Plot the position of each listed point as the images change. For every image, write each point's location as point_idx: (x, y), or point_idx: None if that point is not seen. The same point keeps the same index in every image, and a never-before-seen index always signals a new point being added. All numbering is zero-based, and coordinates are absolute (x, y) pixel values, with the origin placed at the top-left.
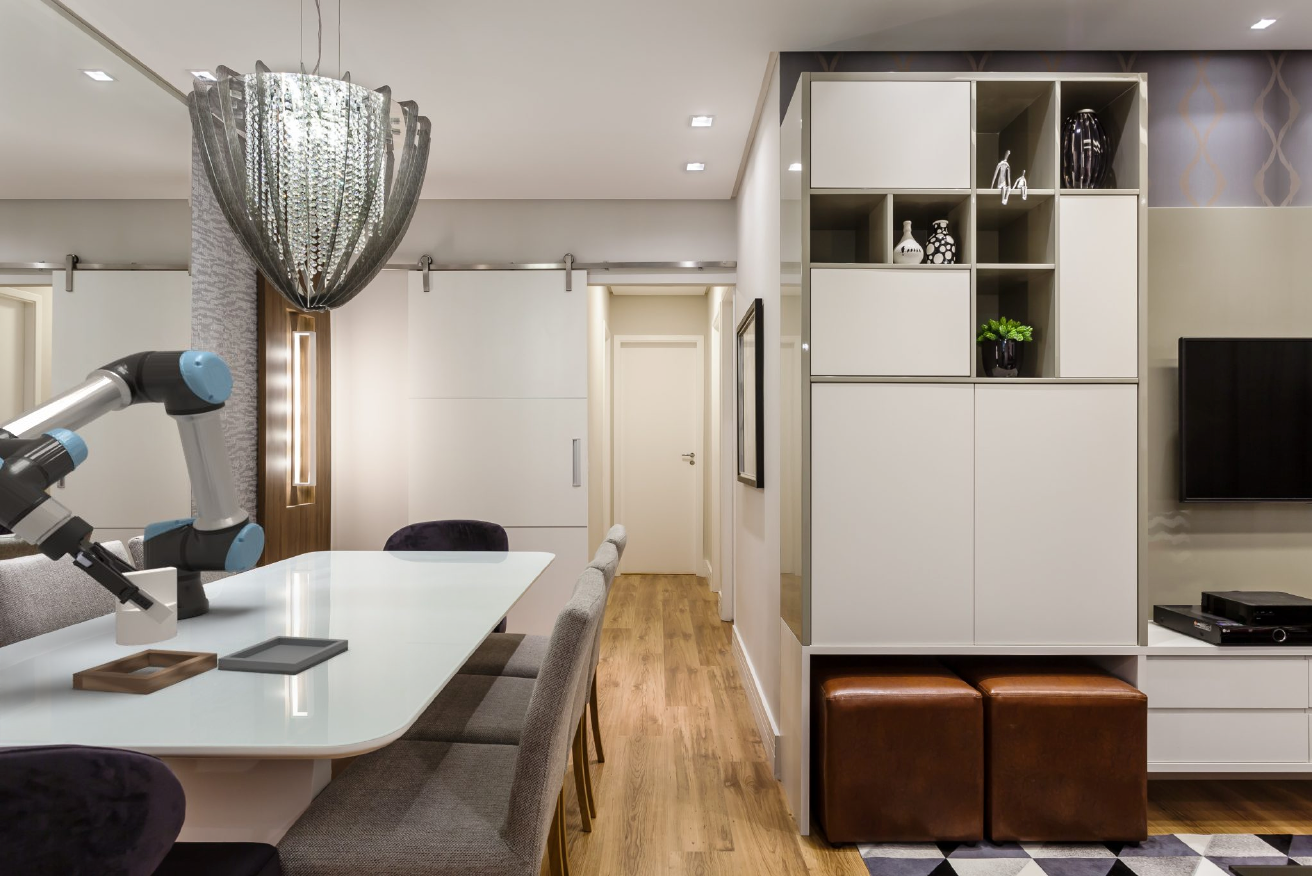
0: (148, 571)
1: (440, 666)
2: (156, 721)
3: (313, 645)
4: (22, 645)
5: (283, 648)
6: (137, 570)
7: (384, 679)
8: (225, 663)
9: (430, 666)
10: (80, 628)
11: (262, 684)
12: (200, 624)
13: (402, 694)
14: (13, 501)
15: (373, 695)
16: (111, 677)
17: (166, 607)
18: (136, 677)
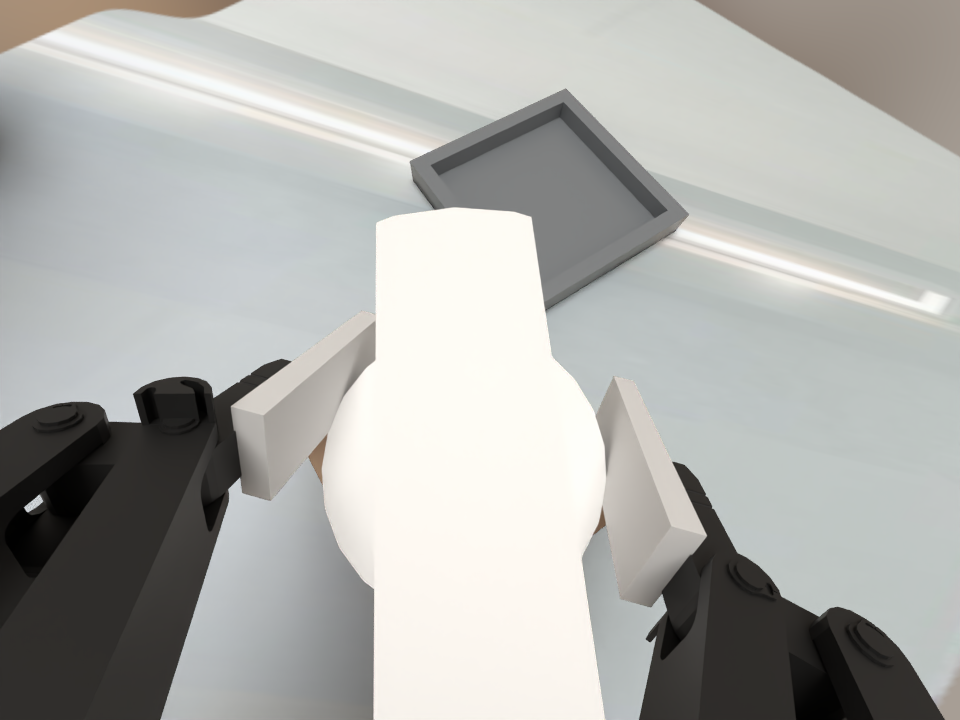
0: (489, 427)
1: (778, 64)
2: (849, 524)
3: (508, 139)
4: None
5: (474, 184)
6: (23, 440)
7: (803, 143)
8: None
9: (769, 73)
10: None
11: (703, 293)
12: (4, 235)
13: (905, 158)
14: None
15: (887, 188)
16: None
17: (642, 403)
18: (600, 519)
